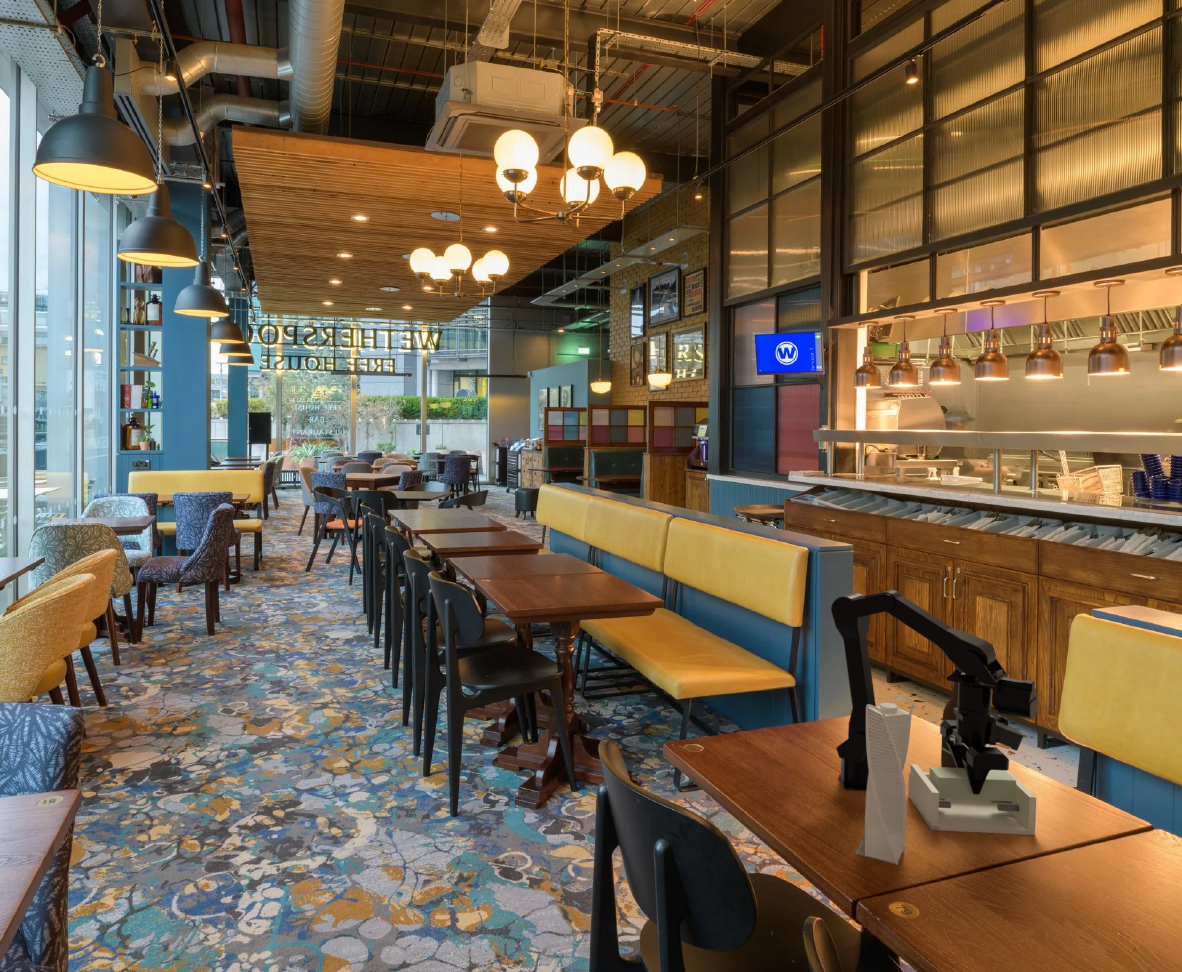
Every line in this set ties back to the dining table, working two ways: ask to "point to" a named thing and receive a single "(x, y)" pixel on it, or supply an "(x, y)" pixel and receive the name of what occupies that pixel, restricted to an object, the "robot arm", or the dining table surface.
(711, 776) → the dining table surface
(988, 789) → the shelf board
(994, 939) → the dining table surface
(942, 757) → the beer bottle
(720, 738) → the dining table surface
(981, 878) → the dining table surface
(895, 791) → the skyscraper
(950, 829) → the tray
